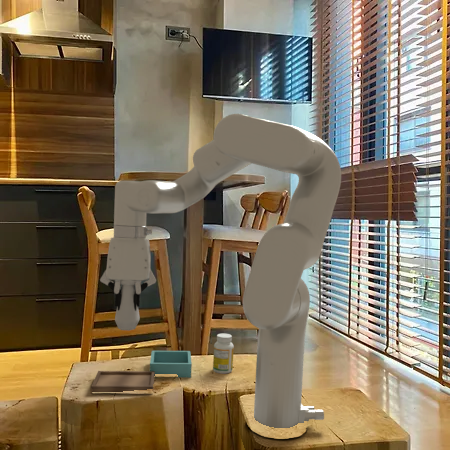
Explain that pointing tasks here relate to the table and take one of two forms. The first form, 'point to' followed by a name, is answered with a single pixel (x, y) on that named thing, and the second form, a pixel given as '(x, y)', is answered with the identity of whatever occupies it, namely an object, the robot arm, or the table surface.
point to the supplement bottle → (223, 354)
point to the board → (123, 381)
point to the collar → (171, 362)
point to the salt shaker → (127, 307)
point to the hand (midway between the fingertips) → (127, 308)
